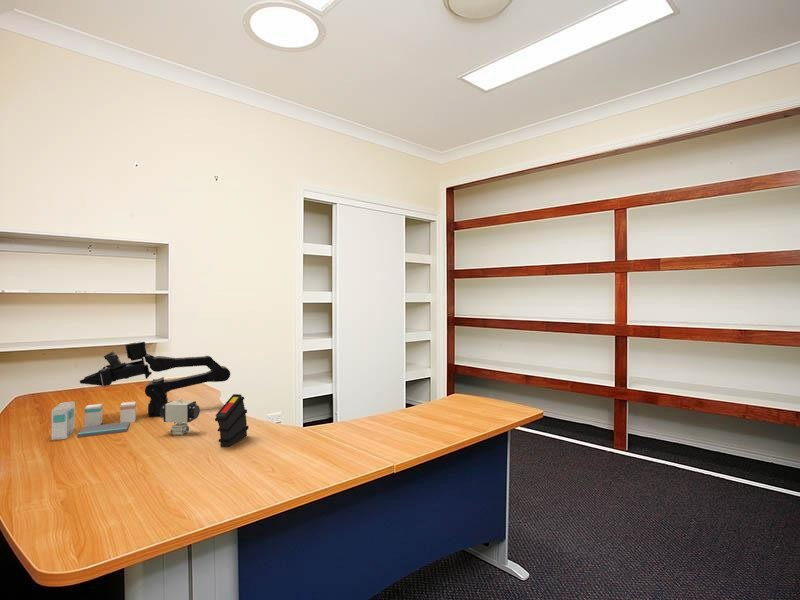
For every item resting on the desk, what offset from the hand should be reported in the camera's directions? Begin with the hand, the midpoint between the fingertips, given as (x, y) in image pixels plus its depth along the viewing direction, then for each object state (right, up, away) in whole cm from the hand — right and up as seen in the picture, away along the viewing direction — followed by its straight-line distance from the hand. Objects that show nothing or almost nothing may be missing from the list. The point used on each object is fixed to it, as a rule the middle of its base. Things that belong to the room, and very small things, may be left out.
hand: (82, 380), depth 160 cm
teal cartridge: (+6, -16, -2) cm, 17 cm away
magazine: (+66, -16, -22) cm, 71 cm away
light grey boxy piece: (+16, -16, +2) cm, 23 cm away
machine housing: (+4, -16, -14) cm, 22 cm away
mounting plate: (+15, -16, -9) cm, 24 cm away
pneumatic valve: (+44, -16, -13) cm, 48 cm away
